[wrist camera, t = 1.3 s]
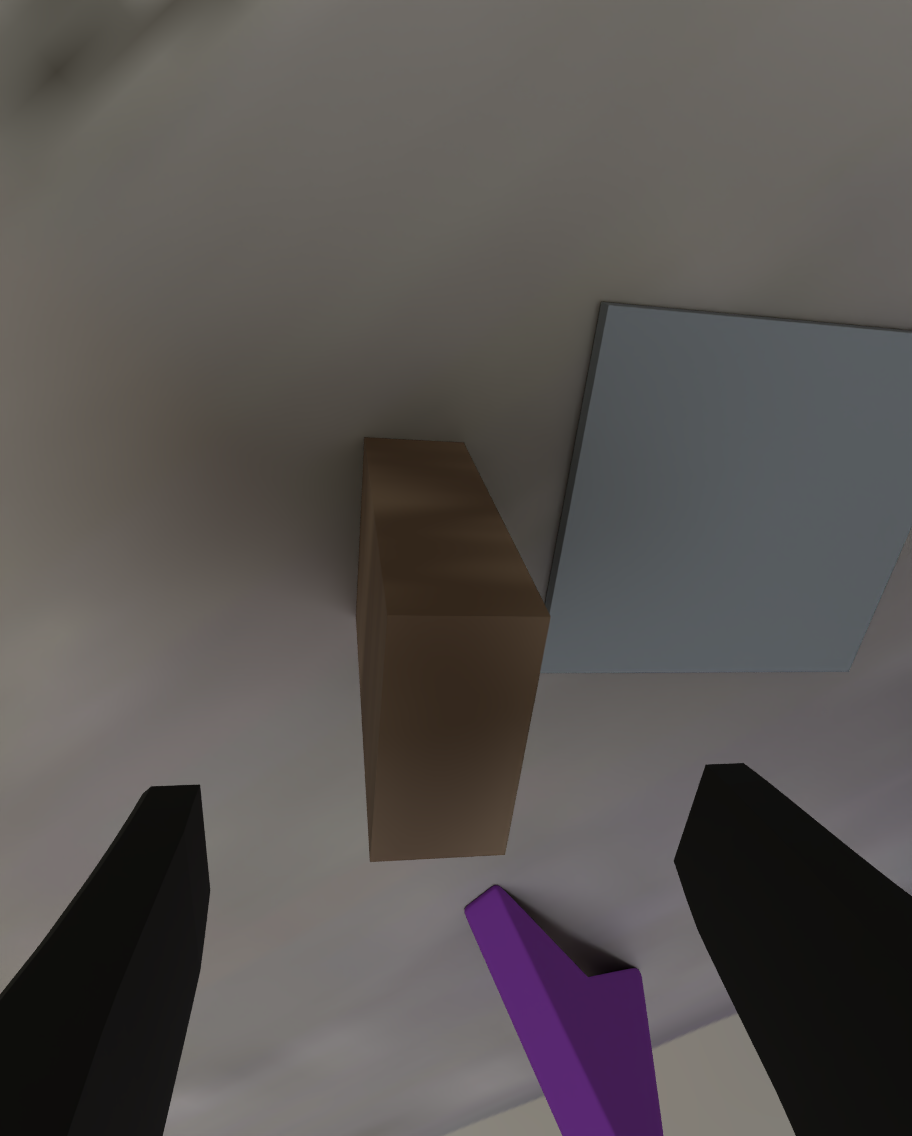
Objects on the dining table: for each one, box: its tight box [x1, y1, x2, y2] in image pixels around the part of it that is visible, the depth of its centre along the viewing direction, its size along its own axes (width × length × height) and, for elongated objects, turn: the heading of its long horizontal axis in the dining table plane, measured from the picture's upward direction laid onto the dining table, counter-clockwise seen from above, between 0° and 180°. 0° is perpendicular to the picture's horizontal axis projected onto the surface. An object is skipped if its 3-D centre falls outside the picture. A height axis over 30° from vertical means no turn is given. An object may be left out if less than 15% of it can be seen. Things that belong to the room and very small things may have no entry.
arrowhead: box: [465, 885, 663, 1136], centre depth 25 cm, size 10×2×10 cm
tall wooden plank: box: [356, 437, 551, 862], centre depth 15 cm, size 2×5×8 cm, turn 174°
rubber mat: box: [540, 302, 912, 673], centre depth 19 cm, size 10×10×1 cm
